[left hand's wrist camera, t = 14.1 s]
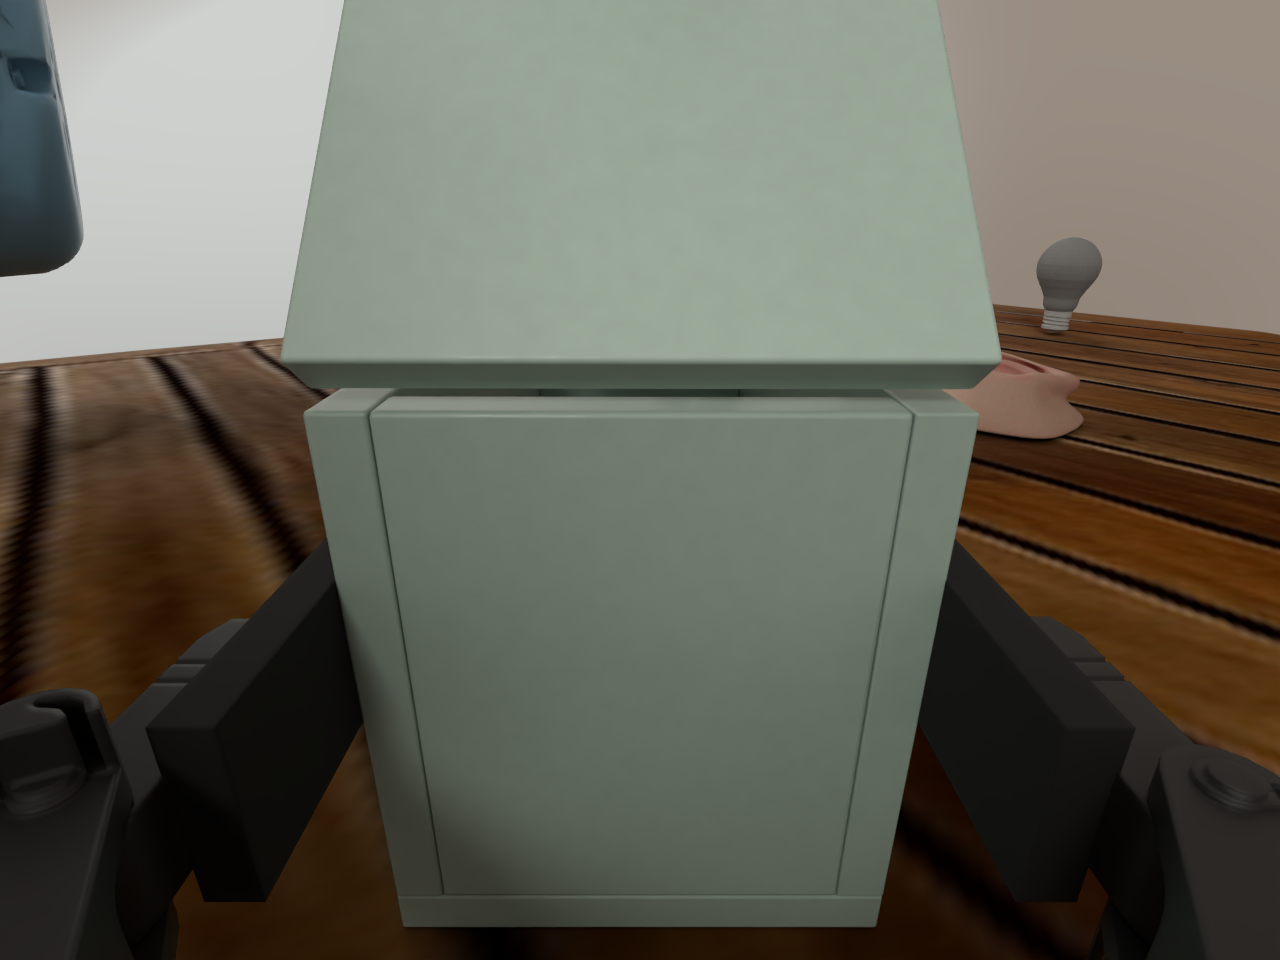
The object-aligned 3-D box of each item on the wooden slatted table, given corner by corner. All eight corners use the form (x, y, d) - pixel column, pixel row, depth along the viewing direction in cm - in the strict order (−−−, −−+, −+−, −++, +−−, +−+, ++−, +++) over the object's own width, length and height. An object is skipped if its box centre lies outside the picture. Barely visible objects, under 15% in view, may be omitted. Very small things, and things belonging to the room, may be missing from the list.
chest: (529, 536, 29) (512, 279, 25) (749, 536, 29) (767, 279, 25) (402, 928, 13) (300, 412, 9) (877, 928, 13) (982, 413, 9)
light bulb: (1036, 336, 73) (1057, 238, 70) (1015, 327, 79) (1033, 236, 75) (1095, 337, 73) (1120, 239, 69) (1069, 328, 78) (1091, 236, 75)
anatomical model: (1116, 380, 38) (898, 362, 42) (1098, 447, 39) (889, 423, 43) (1079, 340, 49) (910, 330, 53) (1066, 394, 51) (903, 379, 55)
